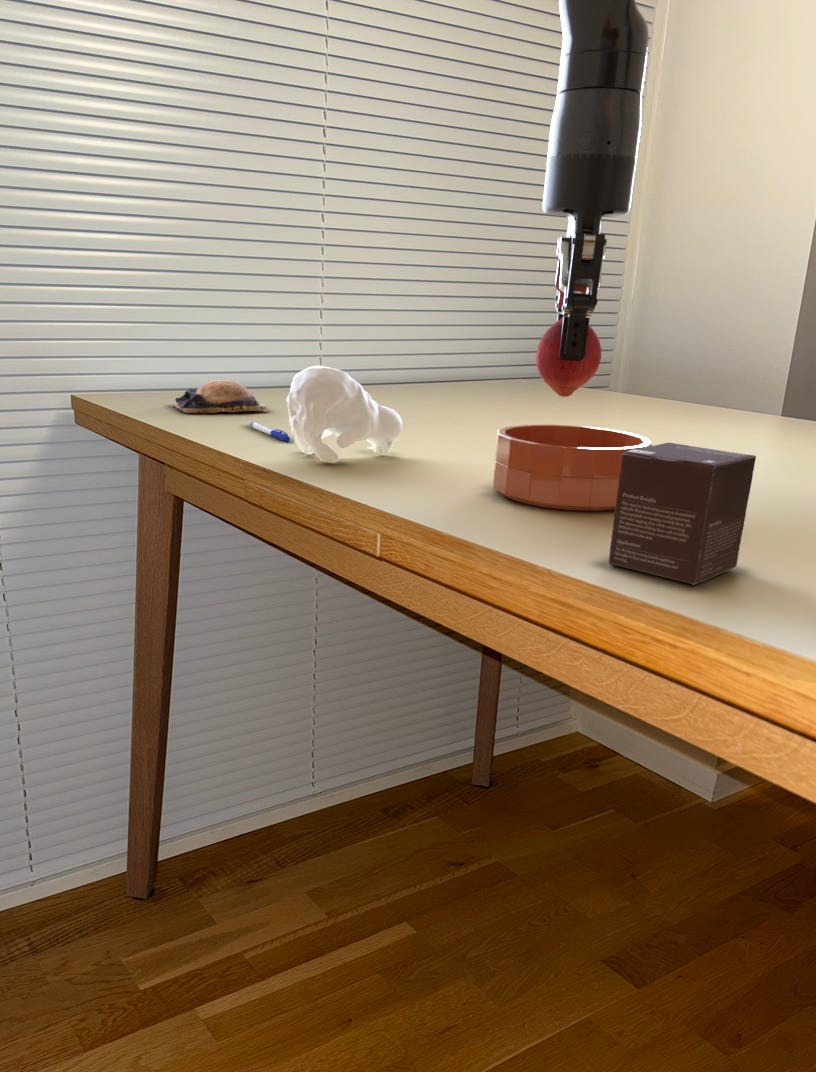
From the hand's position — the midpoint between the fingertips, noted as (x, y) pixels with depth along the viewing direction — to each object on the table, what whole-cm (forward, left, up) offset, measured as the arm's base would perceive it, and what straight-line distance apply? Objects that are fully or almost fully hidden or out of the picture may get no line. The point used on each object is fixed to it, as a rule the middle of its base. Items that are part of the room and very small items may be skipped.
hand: (568, 357), depth 89 cm
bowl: (0, +13, -10) cm, 16 cm away
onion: (0, 0, -4) cm, 4 cm away
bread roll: (+40, -27, -10) cm, 49 cm away
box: (-5, +33, -10) cm, 35 cm away
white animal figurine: (+20, +1, -10) cm, 23 cm away
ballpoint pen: (+30, -10, -11) cm, 33 cm away
